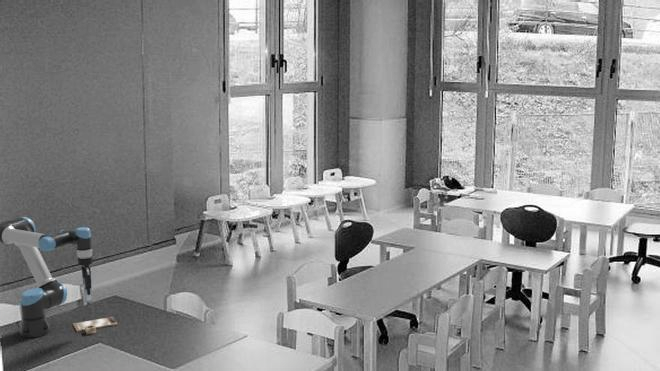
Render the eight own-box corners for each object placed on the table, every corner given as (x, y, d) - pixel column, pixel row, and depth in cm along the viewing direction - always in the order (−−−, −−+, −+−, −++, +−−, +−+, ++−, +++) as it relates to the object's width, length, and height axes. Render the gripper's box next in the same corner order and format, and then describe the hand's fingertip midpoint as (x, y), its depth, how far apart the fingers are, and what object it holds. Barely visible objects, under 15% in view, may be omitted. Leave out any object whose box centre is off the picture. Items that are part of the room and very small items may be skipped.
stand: (86, 334, 431) (86, 329, 431) (85, 331, 436) (84, 326, 435) (96, 332, 433) (95, 327, 433) (94, 330, 438) (94, 324, 437)
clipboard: (77, 332, 435) (76, 329, 435) (72, 324, 448) (72, 321, 447) (118, 324, 445) (118, 322, 445) (112, 317, 457) (112, 315, 457)
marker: (85, 305, 430) (84, 279, 427) (84, 304, 433) (83, 277, 430) (92, 304, 431) (91, 278, 429) (91, 303, 434) (89, 277, 432)
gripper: (95, 259, 422) (98, 302, 426) (89, 252, 436) (92, 294, 440) (80, 261, 419) (84, 304, 423) (74, 254, 433) (78, 296, 437)
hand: (88, 299), depth 432 cm, fingers closed on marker, 3 cm apart
